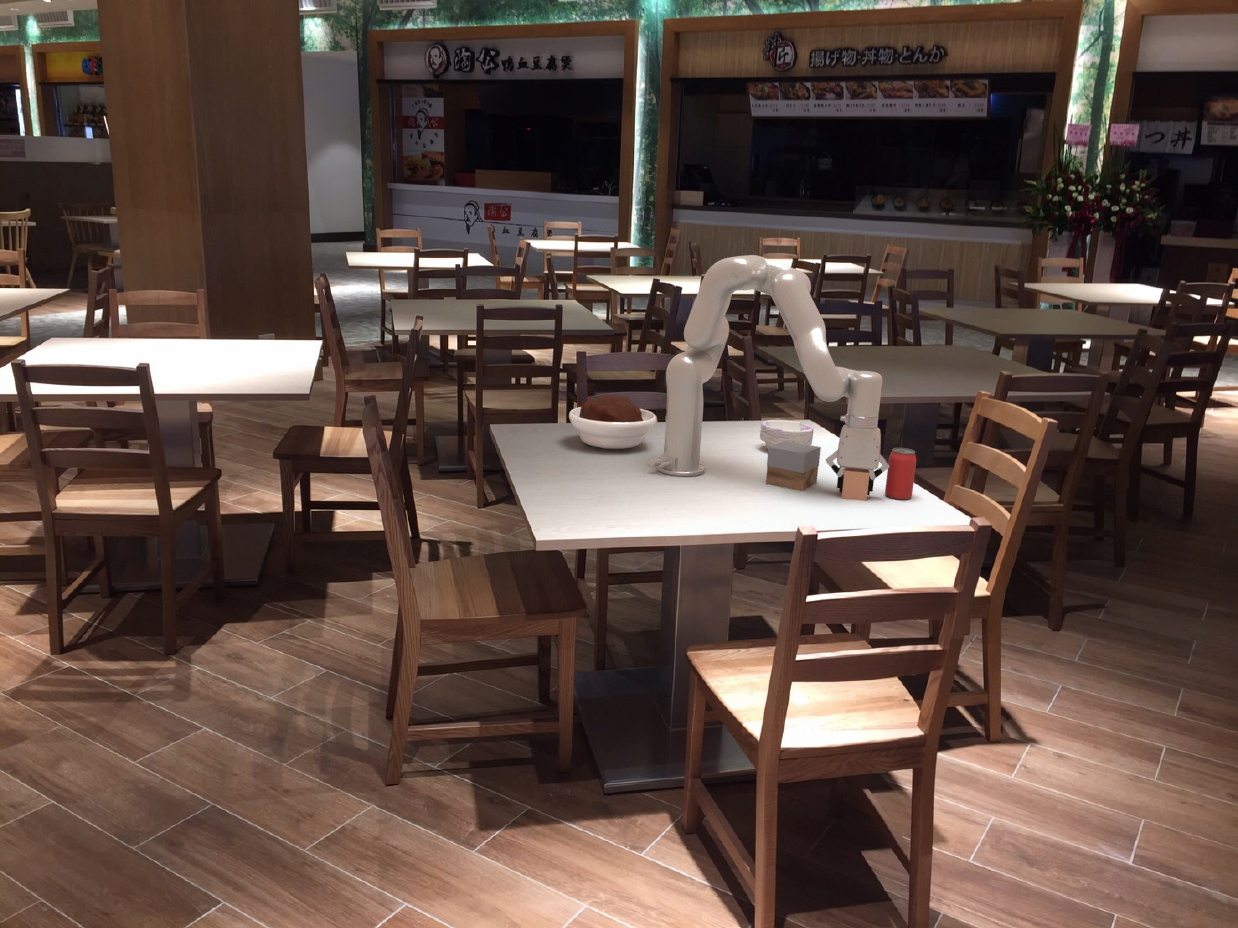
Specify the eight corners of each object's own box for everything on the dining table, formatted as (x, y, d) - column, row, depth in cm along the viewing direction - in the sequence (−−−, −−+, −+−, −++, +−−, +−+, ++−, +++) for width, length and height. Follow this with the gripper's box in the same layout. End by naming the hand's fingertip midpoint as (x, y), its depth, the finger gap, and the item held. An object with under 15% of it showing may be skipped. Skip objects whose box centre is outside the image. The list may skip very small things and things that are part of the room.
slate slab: (803, 473, 257) (804, 453, 256) (766, 465, 262) (768, 447, 261) (818, 465, 265) (820, 447, 264) (783, 459, 271) (785, 440, 269)
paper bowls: (822, 454, 298) (824, 427, 296) (783, 459, 290) (786, 432, 288) (786, 443, 310) (788, 417, 309) (748, 447, 302) (750, 421, 300)
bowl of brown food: (610, 432, 313) (613, 383, 309) (672, 448, 296) (675, 397, 293) (550, 443, 296) (551, 391, 292) (611, 461, 279) (614, 406, 275)
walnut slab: (802, 492, 258) (804, 473, 257) (765, 485, 263) (767, 466, 262) (816, 484, 267) (818, 465, 266) (780, 477, 272) (782, 459, 270)
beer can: (882, 492, 261) (887, 446, 258) (908, 493, 261) (913, 448, 258) (887, 499, 254) (893, 452, 251) (914, 501, 254) (920, 454, 251)
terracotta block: (841, 498, 254) (844, 471, 252) (841, 492, 259) (844, 465, 258) (866, 500, 252) (869, 473, 251) (865, 494, 258) (868, 467, 256)
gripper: (826, 421, 249) (819, 493, 254) (899, 428, 246) (890, 500, 251) (826, 416, 256) (819, 485, 261) (897, 422, 253) (888, 492, 258)
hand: (854, 491), depth 256 cm, fingers closed on terracotta block, 6 cm apart
